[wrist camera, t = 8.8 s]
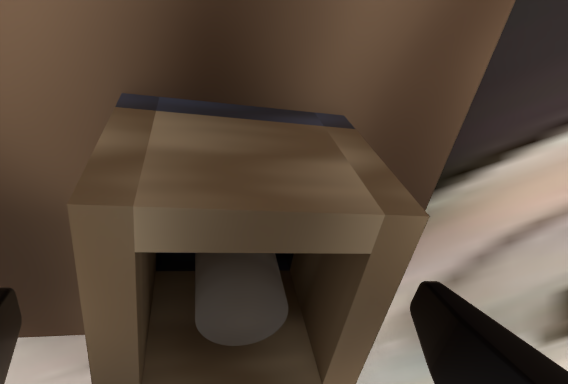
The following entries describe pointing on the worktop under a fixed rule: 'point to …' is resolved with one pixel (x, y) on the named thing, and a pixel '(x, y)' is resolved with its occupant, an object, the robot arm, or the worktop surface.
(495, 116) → the worktop surface
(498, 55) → the worktop surface
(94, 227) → the sleeve
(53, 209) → the pin board
